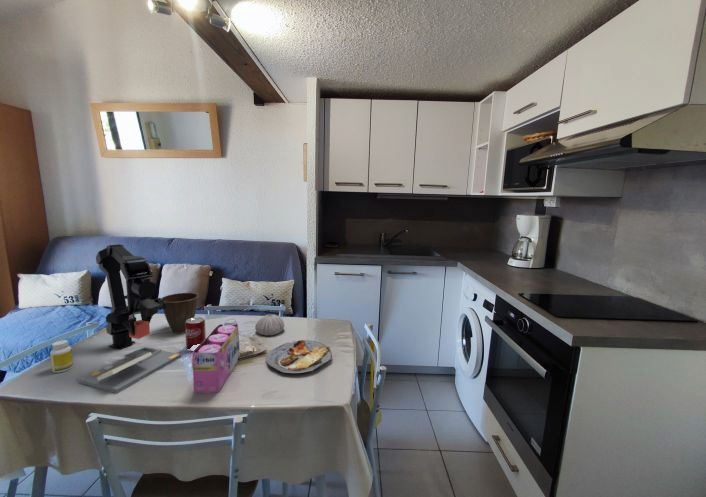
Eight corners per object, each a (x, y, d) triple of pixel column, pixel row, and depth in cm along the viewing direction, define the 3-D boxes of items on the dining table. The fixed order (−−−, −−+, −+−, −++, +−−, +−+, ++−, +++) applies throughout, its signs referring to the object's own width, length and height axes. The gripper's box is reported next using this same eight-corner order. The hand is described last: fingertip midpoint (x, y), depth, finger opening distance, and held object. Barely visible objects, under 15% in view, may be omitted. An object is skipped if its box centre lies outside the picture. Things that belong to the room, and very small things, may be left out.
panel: (78, 382, 98) (77, 373, 98) (147, 350, 121) (146, 342, 121) (117, 393, 93) (116, 382, 93) (181, 357, 116) (180, 348, 116)
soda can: (197, 353, 120) (196, 324, 118) (182, 351, 121) (180, 322, 120) (210, 345, 127) (208, 317, 125) (194, 343, 128) (193, 316, 127)
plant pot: (156, 331, 139) (154, 297, 137) (189, 321, 151) (188, 290, 149) (172, 339, 131) (170, 304, 129) (205, 329, 143) (204, 296, 141)
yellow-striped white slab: (98, 380, 96) (96, 377, 96) (137, 361, 108) (135, 358, 108) (113, 374, 94) (111, 370, 94) (152, 354, 106) (150, 351, 106)
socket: (124, 358, 112) (124, 355, 111) (145, 349, 119) (145, 346, 119) (141, 362, 109) (141, 359, 109) (161, 352, 117) (161, 349, 117)
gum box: (220, 356, 118) (219, 322, 116) (241, 355, 119) (240, 322, 117) (193, 393, 95) (191, 352, 93) (219, 392, 95) (217, 352, 93)
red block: (129, 337, 111) (128, 322, 110) (141, 332, 115) (140, 318, 115) (138, 338, 110) (137, 324, 109) (150, 334, 114) (149, 320, 113)
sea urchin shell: (260, 339, 133) (259, 322, 132) (251, 329, 145) (251, 313, 143) (288, 333, 141) (288, 317, 140) (278, 324, 152) (278, 308, 151)
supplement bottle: (77, 366, 108) (74, 340, 106) (58, 374, 103) (55, 347, 101) (67, 363, 109) (64, 338, 108) (48, 371, 104) (45, 344, 103)
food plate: (301, 339, 134) (301, 332, 134) (343, 356, 121) (343, 347, 120) (254, 363, 114) (254, 355, 114) (297, 386, 101) (297, 376, 100)
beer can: (227, 346, 126) (226, 319, 124) (239, 346, 127) (238, 318, 125) (223, 351, 121) (222, 323, 120) (235, 351, 122) (235, 323, 120)
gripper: (126, 302, 99) (130, 347, 101) (175, 288, 117) (177, 326, 119) (103, 298, 102) (106, 341, 105) (153, 285, 120) (156, 322, 122)
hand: (139, 332), depth 113 cm, fingers closed on red block, 4 cm apart
